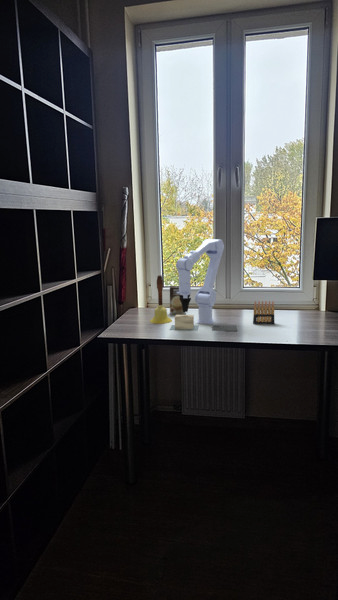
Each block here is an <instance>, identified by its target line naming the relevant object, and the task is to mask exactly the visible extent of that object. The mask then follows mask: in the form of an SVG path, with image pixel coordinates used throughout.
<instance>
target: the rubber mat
mask: <svg viewBox="0 0 338 600" xmlns="http://www.w3.org/2000/svg"><path fill="white" fill-rule="evenodd" d="M211 331H212V332H213V331H215V332H217V331H218V332H221V331H222V332H238V327H237V325H227V324H226V325H216V324H214V325H213V324H212V329H211Z"/></svg>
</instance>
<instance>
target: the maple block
mask: <svg viewBox="0 0 338 600" xmlns="http://www.w3.org/2000/svg"><path fill="white" fill-rule="evenodd" d="M194 322H195V321H194V314H185V315H174V325H175V329H193V327H194V325H195V323H194Z"/></svg>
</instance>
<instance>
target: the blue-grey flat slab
mask: <svg viewBox="0 0 338 600" xmlns="http://www.w3.org/2000/svg"><path fill="white" fill-rule="evenodd" d="M199 326H200V325H199V324H198V325H195V324H194V327H193V329H175V324H172V325H170V328H169V331H198V330H199Z"/></svg>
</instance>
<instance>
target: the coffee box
mask: <svg viewBox="0 0 338 600" xmlns="http://www.w3.org/2000/svg"><path fill="white" fill-rule="evenodd" d="M177 292H179V285H169V316H173V315H174V316H176V315H186V312H183V309H182V304H181V301H180V299H179V298H180V297H179V295H181V294H177Z"/></svg>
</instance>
